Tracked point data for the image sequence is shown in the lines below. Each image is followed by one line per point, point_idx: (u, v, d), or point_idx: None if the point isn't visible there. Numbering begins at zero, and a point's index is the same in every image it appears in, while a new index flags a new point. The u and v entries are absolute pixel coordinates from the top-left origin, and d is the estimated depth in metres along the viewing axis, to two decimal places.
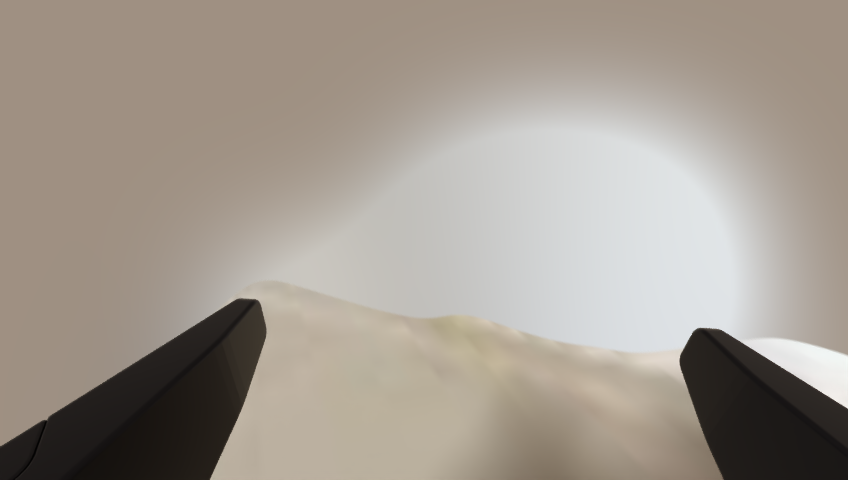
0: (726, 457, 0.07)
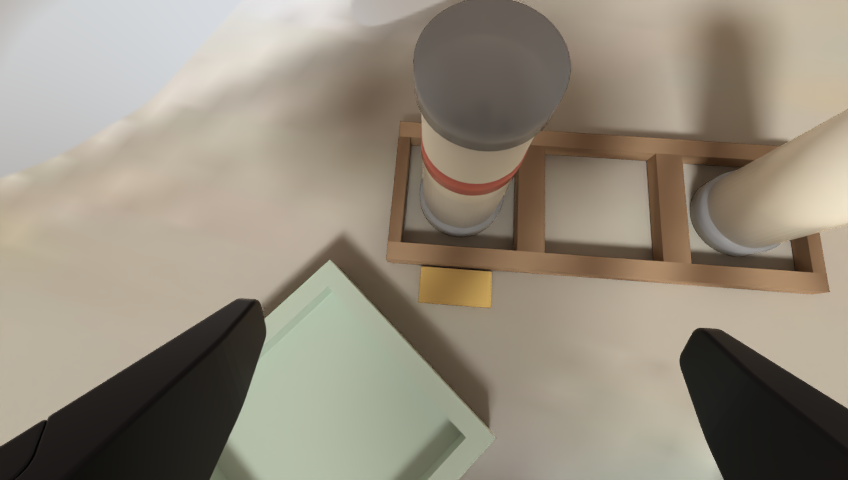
0: (727, 457, 0.07)
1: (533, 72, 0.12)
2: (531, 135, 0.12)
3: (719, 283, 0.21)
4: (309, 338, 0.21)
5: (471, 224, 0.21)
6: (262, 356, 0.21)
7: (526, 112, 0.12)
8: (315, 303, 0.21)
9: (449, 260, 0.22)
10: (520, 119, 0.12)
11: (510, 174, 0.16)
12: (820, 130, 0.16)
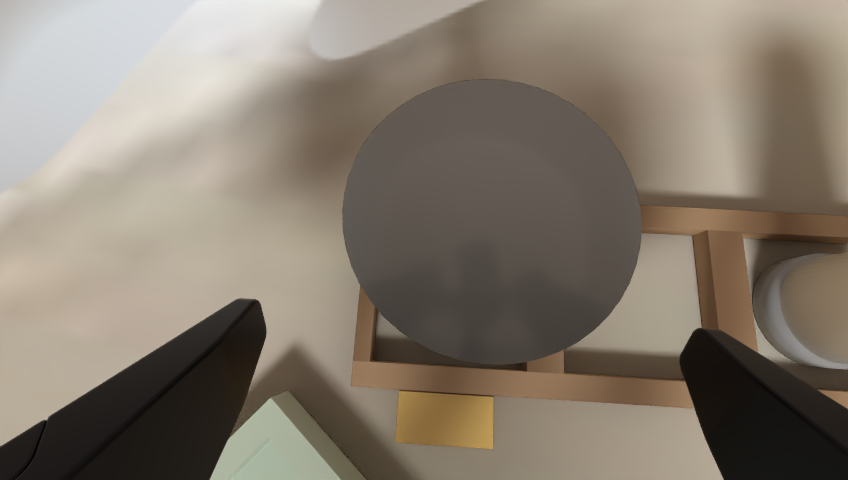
0: (727, 457, 0.07)
1: (570, 230, 0.06)
2: None
3: None
4: None
5: None
6: None
7: (560, 318, 0.06)
8: (253, 454, 0.15)
9: (436, 387, 0.16)
10: (549, 335, 0.06)
11: None
12: None
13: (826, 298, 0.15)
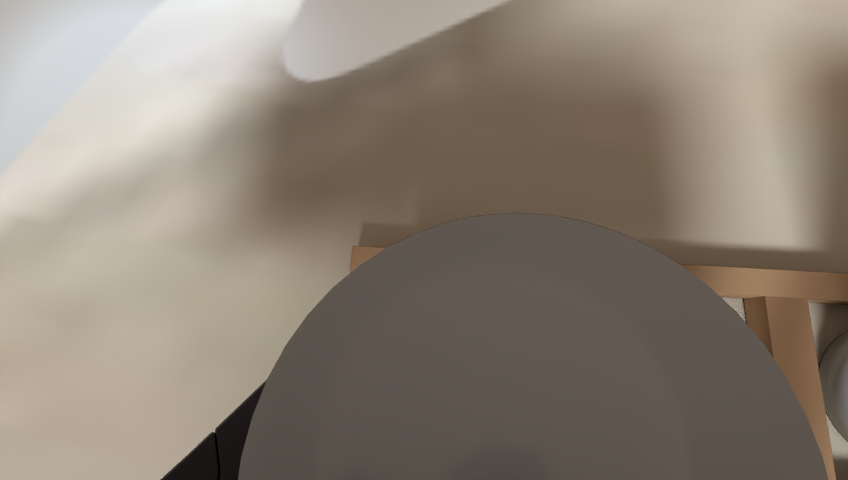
0: None
1: None
2: None
3: None
4: None
5: None
6: None
7: None
8: None
9: None
10: None
11: None
12: None
13: None
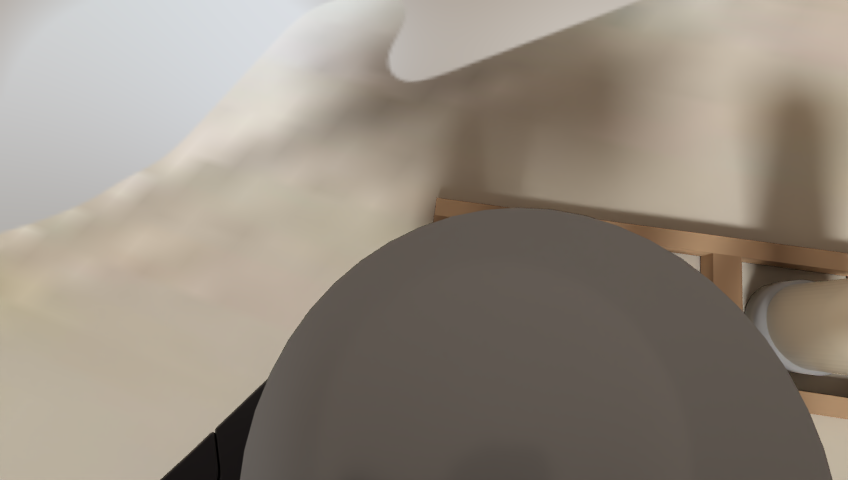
0: None
1: None
2: None
3: None
4: None
5: None
6: None
7: None
8: None
9: None
10: None
11: None
12: None
13: (801, 316, 0.18)
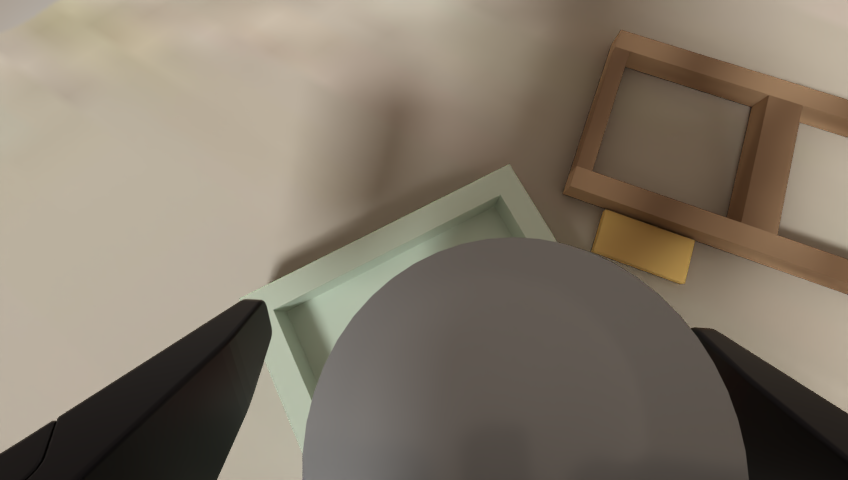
0: None
1: None
2: None
3: None
4: None
5: None
6: (391, 258, 0.17)
7: None
8: (473, 213, 0.17)
9: (650, 210, 0.17)
10: None
11: None
12: None
13: None
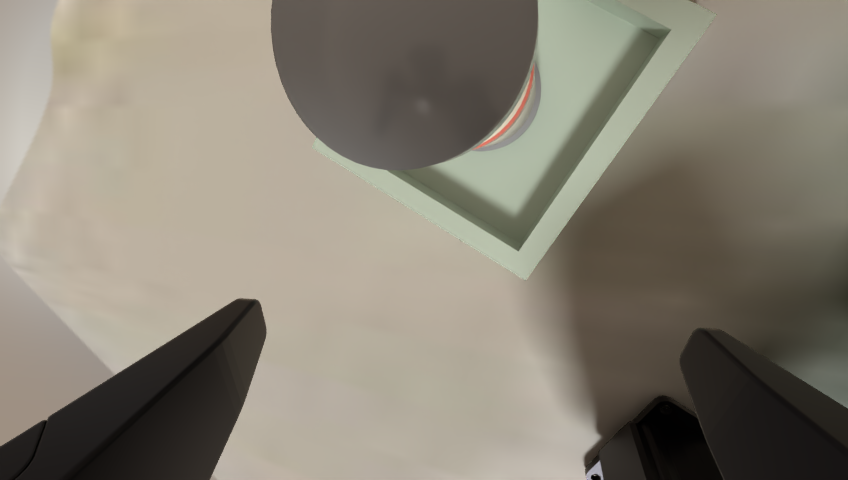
0: (726, 456, 0.07)
1: None
2: (524, 86, 0.07)
3: None
4: None
5: (517, 130, 0.16)
6: None
7: (494, 80, 0.06)
8: None
9: None
10: (492, 100, 0.07)
11: (528, 92, 0.11)
12: None
13: None
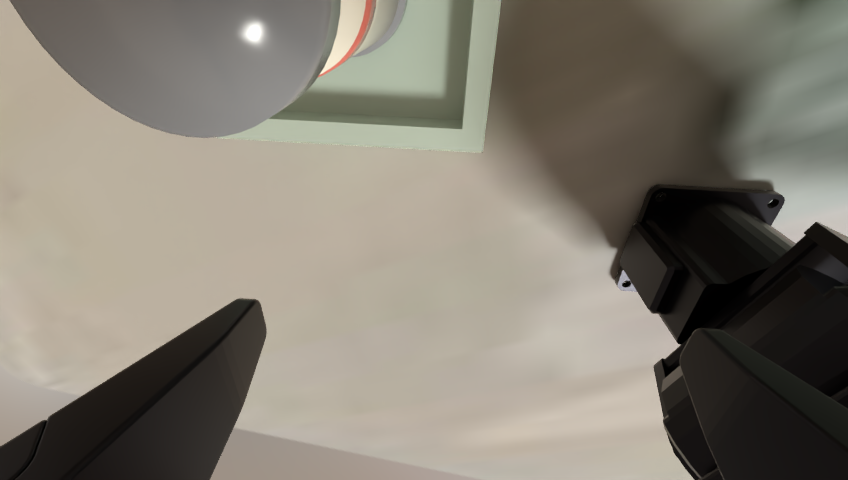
0: (727, 456, 0.07)
1: None
2: None
3: None
4: None
5: (395, 7, 0.15)
6: None
7: None
8: None
9: None
10: None
11: None
12: None
13: None
